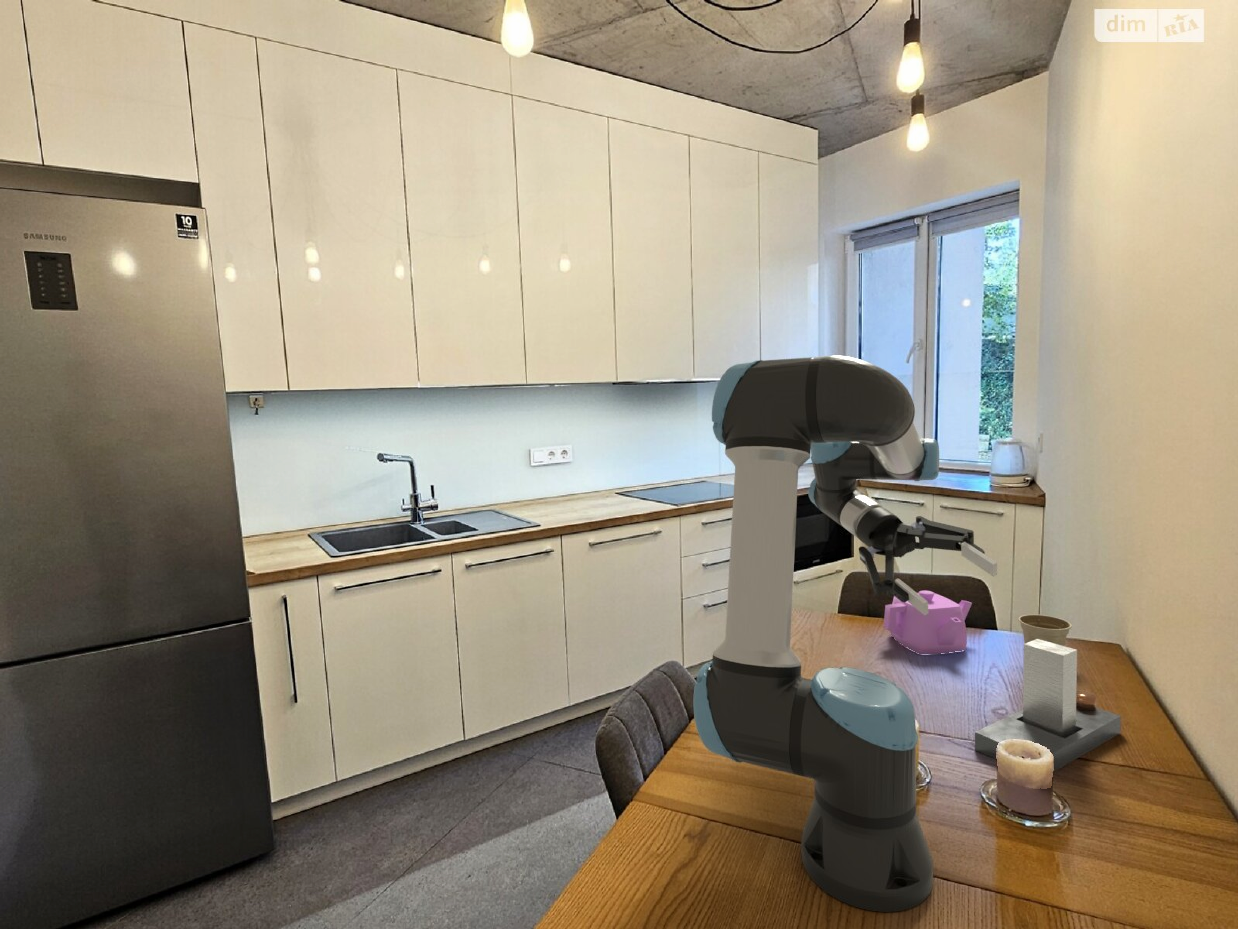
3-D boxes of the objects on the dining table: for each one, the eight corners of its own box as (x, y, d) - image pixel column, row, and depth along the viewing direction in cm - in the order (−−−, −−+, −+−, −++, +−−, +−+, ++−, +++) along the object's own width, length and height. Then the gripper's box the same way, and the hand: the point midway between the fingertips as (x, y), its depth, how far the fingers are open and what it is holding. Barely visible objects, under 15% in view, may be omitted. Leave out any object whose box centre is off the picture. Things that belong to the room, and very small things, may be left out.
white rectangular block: (1062, 753, 102) (1063, 655, 100) (1022, 737, 107) (1023, 644, 106) (1075, 746, 104) (1077, 649, 102) (1036, 730, 109) (1037, 638, 107)
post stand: (1040, 779, 95) (1040, 747, 95) (974, 749, 104) (974, 720, 103) (1122, 732, 107) (1123, 703, 107) (1057, 709, 116) (1057, 682, 115)
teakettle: (898, 626, 161) (897, 578, 160) (974, 639, 150) (974, 587, 149) (878, 649, 147) (877, 596, 146) (960, 664, 137) (960, 607, 136)
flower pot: (1074, 659, 137) (1075, 619, 136) (1066, 674, 130) (1067, 632, 129) (1023, 649, 143) (1023, 611, 142) (1013, 663, 136) (1013, 623, 135)
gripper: (926, 509, 124) (1022, 570, 106) (817, 568, 120) (898, 641, 103) (924, 479, 120) (1023, 536, 102) (812, 538, 117) (894, 608, 99)
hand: (961, 589), depth 102 cm, fingers open, 13 cm apart
